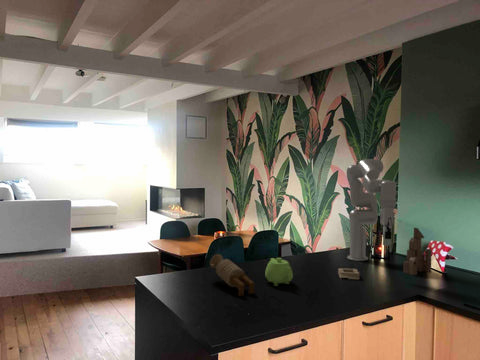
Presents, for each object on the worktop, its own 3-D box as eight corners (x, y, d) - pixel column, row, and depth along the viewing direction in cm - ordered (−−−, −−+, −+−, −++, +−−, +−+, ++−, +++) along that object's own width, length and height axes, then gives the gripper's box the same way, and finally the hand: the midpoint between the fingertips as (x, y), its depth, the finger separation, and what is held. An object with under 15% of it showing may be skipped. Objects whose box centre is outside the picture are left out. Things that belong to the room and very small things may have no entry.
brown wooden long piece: (254, 300, 185) (223, 273, 210) (257, 276, 183) (225, 251, 207) (236, 304, 180) (206, 275, 205) (239, 279, 177) (208, 253, 202)
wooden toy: (413, 275, 216) (414, 230, 215) (403, 272, 222) (404, 228, 221) (432, 272, 223) (433, 228, 222) (422, 269, 229) (423, 226, 228)
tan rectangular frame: (338, 273, 219) (338, 268, 219) (356, 274, 218) (356, 268, 218) (340, 278, 209) (340, 272, 209) (359, 279, 208) (359, 273, 208)
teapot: (300, 287, 194) (300, 261, 193) (275, 290, 189) (275, 264, 189) (282, 276, 213) (282, 253, 212) (259, 278, 208) (259, 254, 208)
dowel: (382, 244, 215) (382, 221, 214) (389, 244, 214) (390, 222, 214) (383, 245, 211) (384, 223, 210) (391, 245, 210) (392, 223, 210)
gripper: (377, 202, 220) (376, 235, 221) (384, 205, 204) (383, 241, 205) (391, 202, 220) (390, 235, 220) (399, 205, 203) (398, 241, 204)
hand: (386, 237), depth 212 cm, fingers closed on dowel, 4 cm apart
